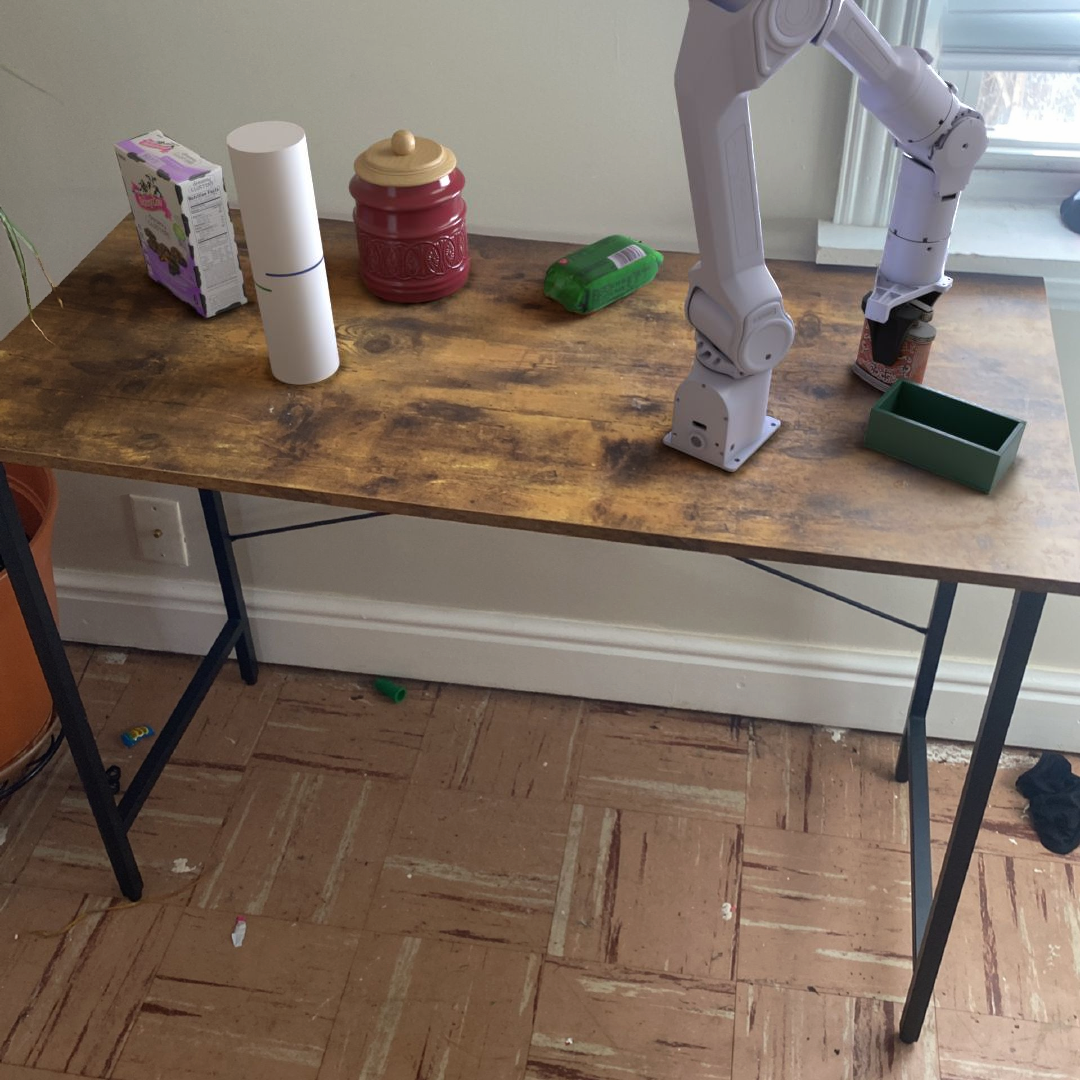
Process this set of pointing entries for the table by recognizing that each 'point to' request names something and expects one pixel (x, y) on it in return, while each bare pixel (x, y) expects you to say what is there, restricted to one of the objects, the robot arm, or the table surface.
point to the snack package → (601, 273)
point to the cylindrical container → (285, 249)
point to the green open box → (944, 434)
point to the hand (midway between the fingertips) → (892, 353)
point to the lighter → (910, 357)
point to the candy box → (182, 222)
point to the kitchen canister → (410, 219)
